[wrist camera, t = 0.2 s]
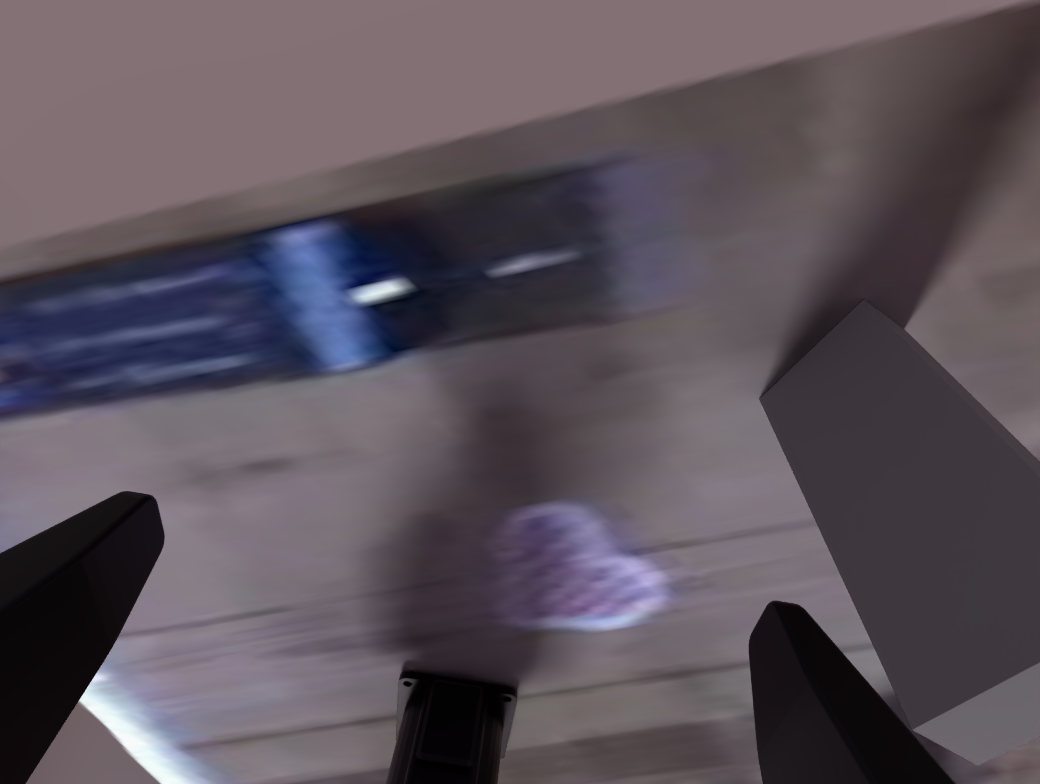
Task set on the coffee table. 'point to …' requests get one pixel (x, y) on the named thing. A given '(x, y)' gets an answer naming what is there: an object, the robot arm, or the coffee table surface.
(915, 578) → the slate domino
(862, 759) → the robot arm
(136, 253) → the coffee table surface
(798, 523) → the coffee table surface
